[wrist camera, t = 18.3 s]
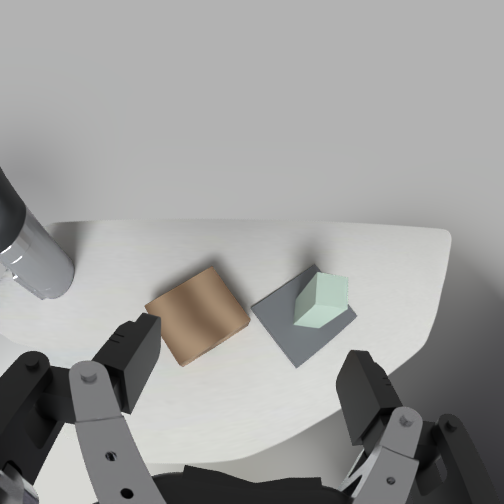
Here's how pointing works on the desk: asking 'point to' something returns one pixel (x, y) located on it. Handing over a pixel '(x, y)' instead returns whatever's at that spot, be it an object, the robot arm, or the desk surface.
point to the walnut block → (198, 316)
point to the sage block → (321, 300)
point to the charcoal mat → (282, 316)
